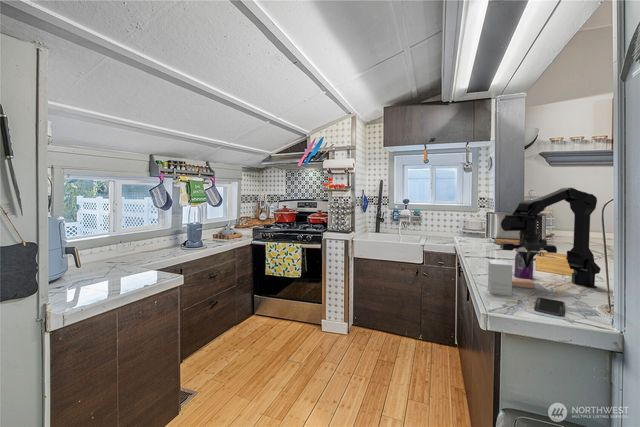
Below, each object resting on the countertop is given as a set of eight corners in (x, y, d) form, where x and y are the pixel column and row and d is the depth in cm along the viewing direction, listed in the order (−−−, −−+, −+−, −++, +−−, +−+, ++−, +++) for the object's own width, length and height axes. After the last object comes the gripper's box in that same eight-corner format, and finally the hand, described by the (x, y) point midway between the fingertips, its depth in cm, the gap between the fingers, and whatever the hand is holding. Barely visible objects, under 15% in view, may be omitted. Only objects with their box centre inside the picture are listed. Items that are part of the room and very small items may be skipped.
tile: (530, 279, 122) (503, 277, 126) (535, 283, 116) (507, 281, 120) (529, 284, 122) (503, 282, 126) (535, 288, 117) (506, 286, 120)
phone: (533, 308, 95) (537, 296, 107) (533, 312, 96) (537, 299, 107) (564, 315, 90) (565, 301, 101) (564, 318, 90) (565, 304, 102)
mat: (538, 284, 124) (539, 283, 124) (550, 293, 112) (550, 292, 112) (501, 281, 128) (502, 280, 128) (509, 289, 117) (509, 288, 117)
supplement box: (508, 291, 115) (509, 261, 114) (511, 297, 108) (512, 265, 108) (487, 289, 118) (488, 259, 118) (489, 294, 112) (490, 263, 111)
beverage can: (535, 280, 130) (536, 255, 129) (518, 279, 131) (519, 254, 131) (527, 276, 137) (528, 252, 136) (511, 275, 138) (512, 251, 137)
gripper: (507, 232, 115) (506, 270, 115) (564, 234, 108) (562, 274, 109) (500, 229, 125) (499, 264, 126) (551, 231, 119) (550, 267, 119)
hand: (526, 267), depth 120 cm, fingers closed
